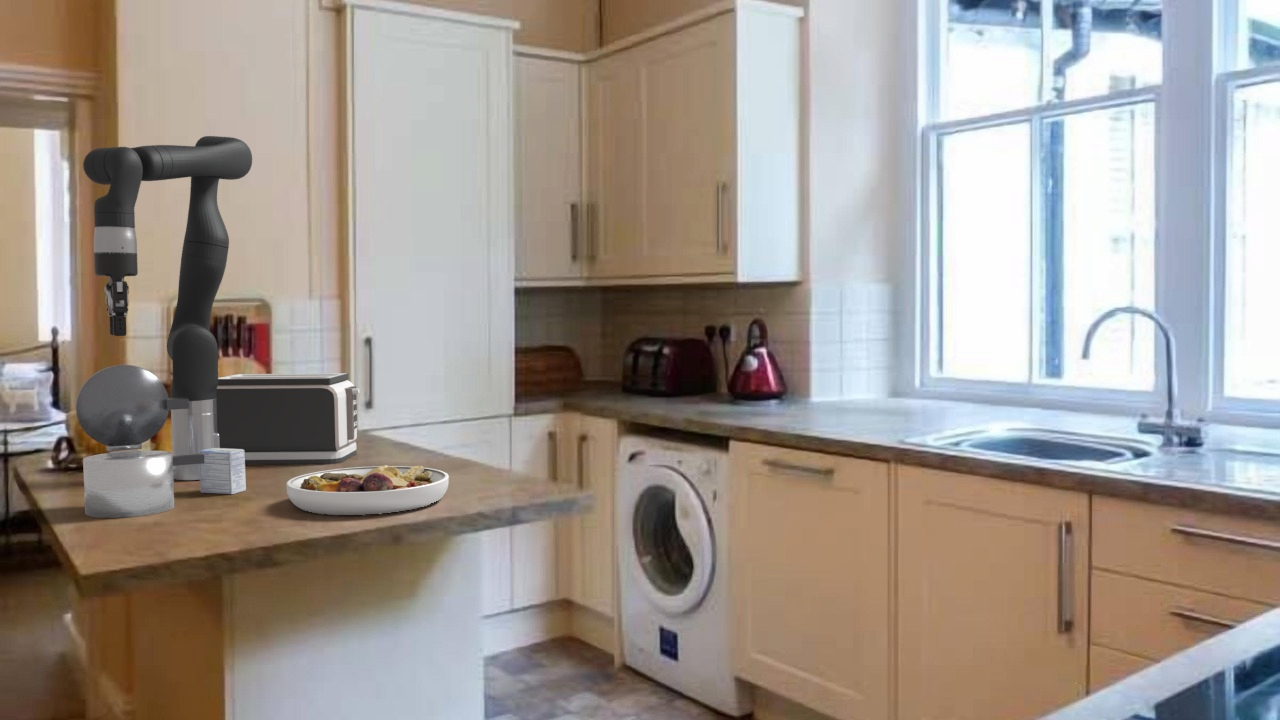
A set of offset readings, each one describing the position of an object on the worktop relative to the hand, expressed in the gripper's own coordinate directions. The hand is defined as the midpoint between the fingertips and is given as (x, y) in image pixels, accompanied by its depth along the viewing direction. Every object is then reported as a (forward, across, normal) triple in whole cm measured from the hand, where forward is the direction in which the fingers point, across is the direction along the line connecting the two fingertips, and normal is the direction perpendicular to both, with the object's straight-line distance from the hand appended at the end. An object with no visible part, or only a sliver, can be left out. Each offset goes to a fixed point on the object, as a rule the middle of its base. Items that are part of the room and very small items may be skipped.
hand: (118, 335), depth 208 cm
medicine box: (+32, -2, -18) cm, 37 cm away
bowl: (+32, -29, -40) cm, 59 cm away
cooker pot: (+32, -12, -3) cm, 34 cm away
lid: (+14, -7, -2) cm, 15 cm away
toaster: (+32, +37, -40) cm, 63 cm away
